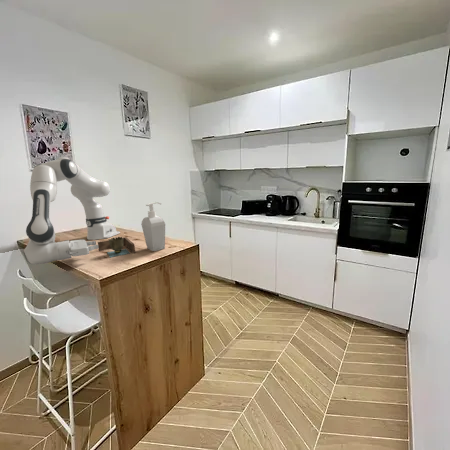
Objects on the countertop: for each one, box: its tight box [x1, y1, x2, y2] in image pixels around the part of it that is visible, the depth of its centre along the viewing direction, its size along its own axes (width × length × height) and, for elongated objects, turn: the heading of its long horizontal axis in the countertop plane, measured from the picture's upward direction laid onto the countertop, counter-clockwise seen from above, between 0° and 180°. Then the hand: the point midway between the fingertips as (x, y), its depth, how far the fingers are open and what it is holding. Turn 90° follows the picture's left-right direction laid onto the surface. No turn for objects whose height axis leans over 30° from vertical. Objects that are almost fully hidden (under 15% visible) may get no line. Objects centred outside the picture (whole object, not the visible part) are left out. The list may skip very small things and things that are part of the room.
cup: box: [107, 236, 124, 253], centre depth 138 cm, size 8×7×8 cm
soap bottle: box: [141, 201, 166, 252], centre depth 142 cm, size 12×10×26 cm
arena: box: [97, 236, 136, 259], centre depth 142 cm, size 16×20×5 cm
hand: (97, 244), depth 132 cm, fingers open, 8 cm apart
